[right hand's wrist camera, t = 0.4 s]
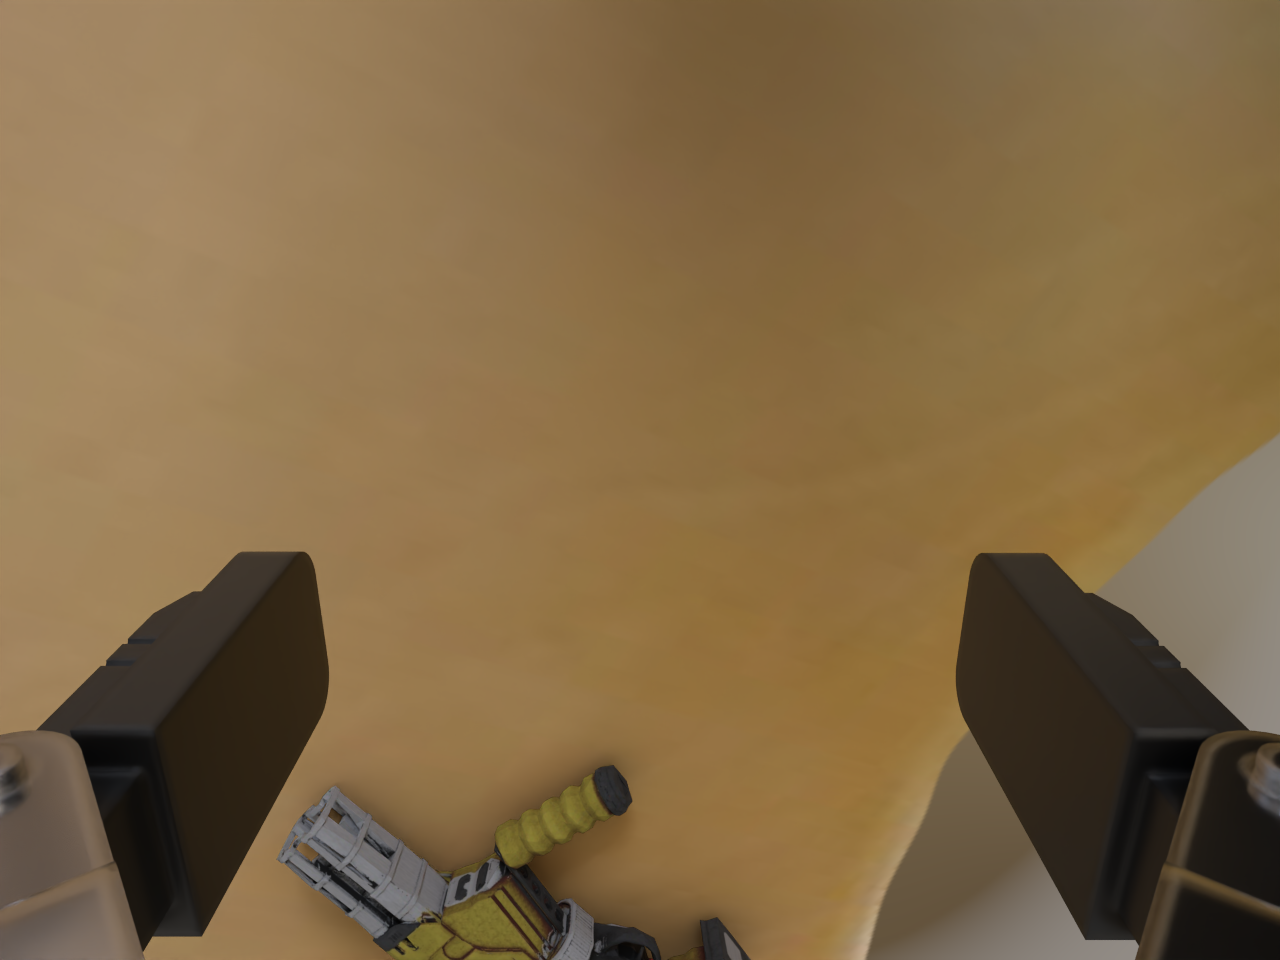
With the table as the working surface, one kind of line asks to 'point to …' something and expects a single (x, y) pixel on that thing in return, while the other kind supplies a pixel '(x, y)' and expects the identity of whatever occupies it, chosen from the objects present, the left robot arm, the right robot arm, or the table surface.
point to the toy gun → (476, 886)
